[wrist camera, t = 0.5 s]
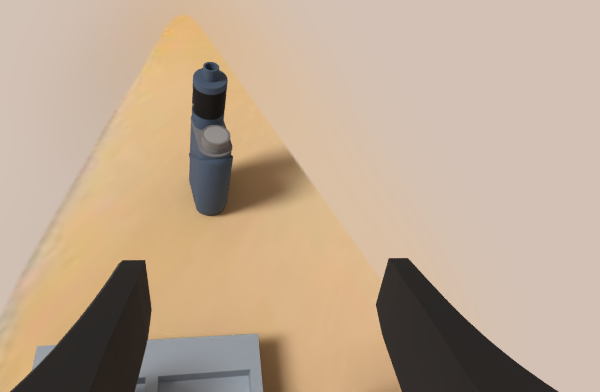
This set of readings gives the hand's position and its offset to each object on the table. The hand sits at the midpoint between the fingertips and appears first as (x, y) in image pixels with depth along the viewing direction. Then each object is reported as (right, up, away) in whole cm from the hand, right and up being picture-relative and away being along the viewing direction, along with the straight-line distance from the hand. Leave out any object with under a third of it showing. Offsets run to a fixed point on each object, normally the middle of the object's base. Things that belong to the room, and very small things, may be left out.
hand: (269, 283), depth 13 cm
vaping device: (-7, +3, +25) cm, 26 cm away
